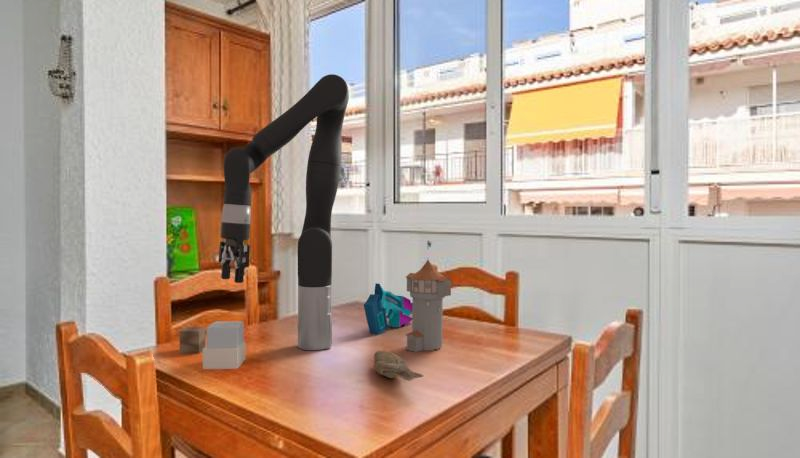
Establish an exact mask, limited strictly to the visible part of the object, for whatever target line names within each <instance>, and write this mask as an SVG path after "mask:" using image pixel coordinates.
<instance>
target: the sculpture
mask: <svg viewBox="0 0 800 458" xmlns="http://www.w3.org/2000/svg"><path fill="white" fill-rule="evenodd" d="M373 360H374V370H375V371H376V372H377V373H378V374H379V375H380V376H384V377H387V378H390V379H393V378H396V377H397V376H398V377H399V378H401V379H403V380H405V381H408V382H410V381H413V380H415V379H419V378H423V377H425V376H424V375H423V374H421V373H418V372H415V371H412V370H411V369H410V368H409V366H408V365H407V361H406V359H404V358H402V357H401V356H399V355H397V354H396V353H393V352H388V351H386V350H377V351H376V352H375V353H374V355H373Z"/></svg>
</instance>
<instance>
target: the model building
mask: <svg viewBox="0 0 800 458" xmlns="http://www.w3.org/2000/svg"><path fill="white" fill-rule="evenodd" d="M431 247H432V241H430V240H427V248H431ZM405 278H406V292H409V296H410V297H411V298H412V303H413V306H412V314H411V315H412V316H411V318H412V320H411V322H412V325H411V326H412V328H411V332H409V333H407V334H405V336H406V350H407V351H411V352H415V353H417V352H421V351H435V350H434V349H438V348H441V347H443V316H444V310H443V300H444V298H445V297H449V296H452V293H451V292H452V282H453V279H451V278H450V277H448V276H444V275H443V274H441V273H440V272H439V271H437V270H436V268H435V267H434V266H433V265H432V262H430V260H429V259H427V260H426V262H425V263H424V265H423V266H422V267H421V268H420V269H419V270H418V271H416V272H409V273H408V274H407V275H406V276H405ZM441 349H442V348H441ZM438 350H439V349H438Z"/></svg>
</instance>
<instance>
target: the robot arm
mask: <svg viewBox="0 0 800 458" xmlns="http://www.w3.org/2000/svg"><path fill="white" fill-rule="evenodd" d="M349 99H350V91H349V86H348V84H347V81H346V80H345V79H344V78H343V77H342V76H340V75H338V74H332V73H331V74H326V75H324V76H323V77H321V78H320V79H319V80H318V81H317V82H316V83H315V84H314V85H313V86H312V88H310V90H308V92H307V93H306V94H304V95H303V96H302V97H301V98H300V99H299V100H298V101H297V102H296V103H295V104H294V105H292V106H291V107H290V108H288V109H287V110H286V111H285V112H283V113H282V114H281V115H279V116H278V117H277V118H275V119H274V120H272V121H271V122H270V123H268V124H267V125H266V126H264V127H263V128H261V129H260V130H259V131H257V132H256V133H255V134H254V135H253V137H252V140H251V141H250V142H249V143H247V144H246V145H245V146H243V147H233V148H231V149H229V150H228V151H227V152H226V154H225V157H224V159H223V175H224V186H225V187H224V195H223V207H222V212H221V223H220V225H221V227H220V239H225V241H224V240H222V241H219V249H218V250H219V252H218V263H220V265H221V274H220V275H221V277H220V278H221V279H223V280H230V278H231V267H232V266H231V264H232V263H234V267H235V270H234V280H233V281H234V283H236V284H242V283H244V276H245V270H246V268H249V267H250V250H251V246H250V244H245V242H244V241H248V240H249V239H250V235H251V234H250V233H251V219H252V211H251V209H252V208H251V205H252V187H251V186H250V185H251V184H250V180H251V179H250V178H251V177H250V175H251V173H253V172H254V171H256V170H257V169H259V167H260V166H262V164H264V162H265V161H267V159H269V157H270V156H272V155H274V154H275V153H276V152H278V151H279V150H281V149H282V148H283V147H284V146H286V145H288V143H290V142H291V141H293V139H294V138H295V137H296V136H297V135H298V134H299V133H300V132H301V131H303V129H304V128H305V127H306V126H307V125H308V124H309V123H311V122H312V121H314V119H316V127H315V132H314V135H313V139H312V141H311V146H310V150H309V153H308V158H307V164H306V165H307V167H306V174H305V203H306V204H305V205H306V206H305V215H304V220H303V225H302V230H301V234H300V235H299V237H298V240H297V348H298V349H300V350H305V351H321V350H326V349H327V350H328V349H329V350H330V349H331V347H332V344H333V310H332V278H333V272H332V271H333V267H332V266H333V242H332V234H331V230H332V213H333V208H334V203H335V200H336V197H337V193H338V188H339V182H340V176H341V175H340V174H341V169H342V148H343V146H342V143H343V142H342V134H343V132H342V131H343V125H344V120H345V117H346V116H345V115H346V111H347V107H348V103H349Z"/></svg>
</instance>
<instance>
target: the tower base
mask: <svg viewBox="0 0 800 458" xmlns="http://www.w3.org/2000/svg"><path fill="white" fill-rule="evenodd" d="M245 360H246V340H244V341H243V342H242V343H241V344H240V345H239V346H238V347H237V348H217V349H207V345H205V348H204V349H203V351H202V370H238V368H239V367H240V366H242V364H243V363H244V361H245Z"/></svg>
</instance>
